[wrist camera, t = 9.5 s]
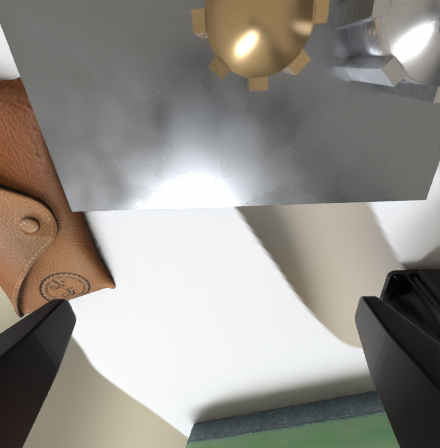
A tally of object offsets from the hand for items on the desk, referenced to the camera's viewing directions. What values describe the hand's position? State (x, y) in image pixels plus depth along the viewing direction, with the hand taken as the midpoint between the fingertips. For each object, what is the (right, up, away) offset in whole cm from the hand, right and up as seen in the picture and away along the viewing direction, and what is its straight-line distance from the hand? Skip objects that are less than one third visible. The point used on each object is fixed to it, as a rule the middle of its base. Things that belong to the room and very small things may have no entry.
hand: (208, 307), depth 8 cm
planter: (+9, -22, +27) cm, 36 cm away
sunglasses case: (-14, +4, +13) cm, 20 cm away
